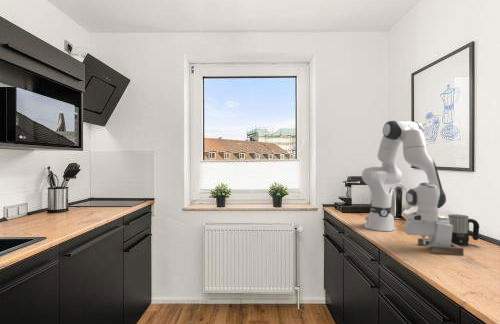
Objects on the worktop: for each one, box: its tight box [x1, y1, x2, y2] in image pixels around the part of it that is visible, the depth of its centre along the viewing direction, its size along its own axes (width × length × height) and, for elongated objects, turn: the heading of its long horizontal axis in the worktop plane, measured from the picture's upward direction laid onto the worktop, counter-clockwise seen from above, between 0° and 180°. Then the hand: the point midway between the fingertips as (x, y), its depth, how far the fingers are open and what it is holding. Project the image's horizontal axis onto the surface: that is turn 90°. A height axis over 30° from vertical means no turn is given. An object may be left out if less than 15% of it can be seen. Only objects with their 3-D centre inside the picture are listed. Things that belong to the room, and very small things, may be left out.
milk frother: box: [447, 213, 480, 246], centre depth 168 cm, size 14×16×15 cm
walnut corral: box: [417, 238, 465, 256], centre depth 153 cm, size 16×14×3 cm
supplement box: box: [427, 223, 453, 248], centre depth 153 cm, size 7×7×13 cm
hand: (426, 244), depth 153 cm, fingers closed
